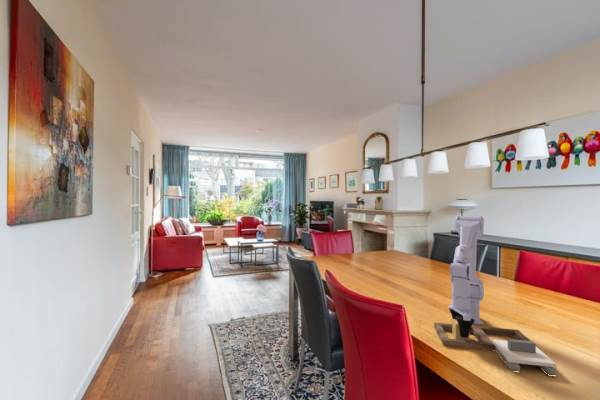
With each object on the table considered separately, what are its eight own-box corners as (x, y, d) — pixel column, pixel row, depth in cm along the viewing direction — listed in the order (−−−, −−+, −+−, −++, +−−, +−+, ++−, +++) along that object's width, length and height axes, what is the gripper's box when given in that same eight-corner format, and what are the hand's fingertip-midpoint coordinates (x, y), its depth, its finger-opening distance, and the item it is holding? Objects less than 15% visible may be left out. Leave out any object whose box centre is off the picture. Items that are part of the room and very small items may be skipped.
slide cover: (492, 342, 98) (492, 330, 98) (532, 346, 95) (532, 334, 95) (508, 362, 86) (508, 349, 86) (555, 367, 83) (556, 353, 83)
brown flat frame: (434, 327, 114) (434, 322, 114) (518, 335, 107) (518, 329, 107) (453, 365, 89) (453, 358, 89) (564, 378, 82) (564, 371, 82)
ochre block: (452, 334, 108) (452, 318, 108) (465, 336, 107) (465, 320, 107) (455, 340, 104) (455, 324, 104) (469, 342, 103) (469, 325, 103)
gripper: (443, 288, 113) (443, 322, 113) (454, 301, 99) (454, 340, 99) (463, 289, 112) (463, 324, 112) (477, 303, 98) (477, 342, 98)
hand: (460, 332), depth 105 cm, fingers open, 7 cm apart
